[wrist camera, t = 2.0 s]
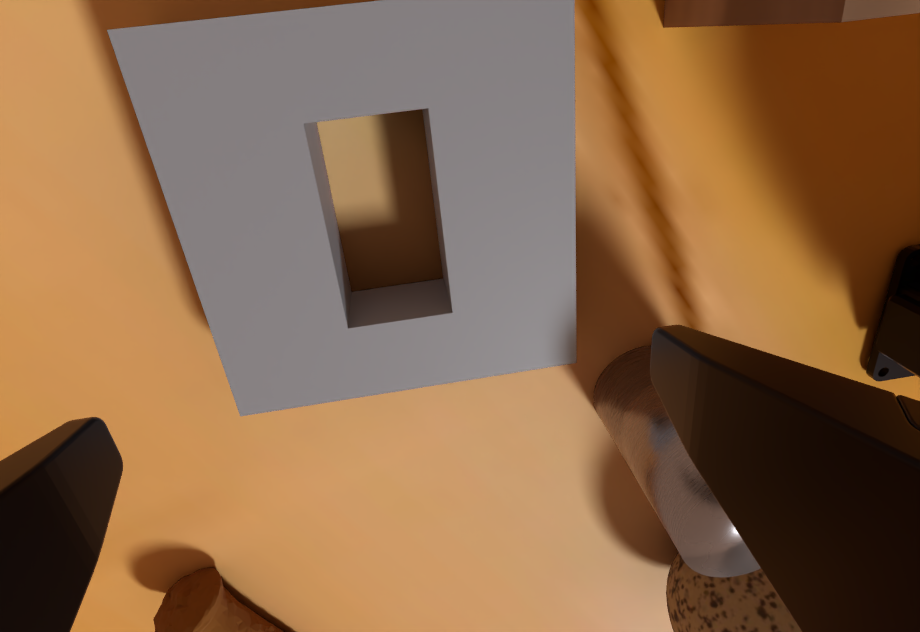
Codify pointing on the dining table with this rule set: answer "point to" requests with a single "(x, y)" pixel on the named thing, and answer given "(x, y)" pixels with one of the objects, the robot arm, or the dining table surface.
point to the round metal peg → (667, 469)
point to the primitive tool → (206, 608)
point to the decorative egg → (724, 602)
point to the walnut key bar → (780, 11)
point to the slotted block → (310, 201)
